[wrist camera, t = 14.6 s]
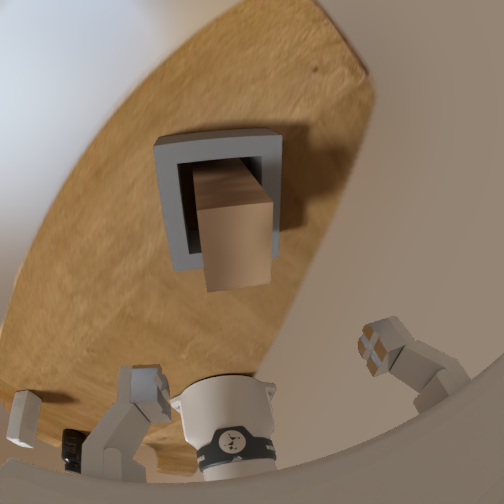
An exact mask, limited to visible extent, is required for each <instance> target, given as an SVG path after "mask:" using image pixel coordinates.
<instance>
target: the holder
mask: <svg viewBox="0 0 504 504" xmlns="http://www.w3.org/2000/svg"><path fill="white" fill-rule="evenodd" d="M153 149H154V157H155V165H156V172H157V180H158V186H159V193H160V199H161V206H162V211H163V217H164V223H165V228H166V234H167V239H168V244H169V249H170V254H171V259H172V264H173V268H174V272H175V271H183V270H190V269H198V268H204V265H203V258H202V250H201V242H200V234H199V230H191V231H188V228H187V220H186V213H185V205H184V197H183V189H182V181H181V171H180V163H187V162H195V161H204V160H214V159H225V158H237V157H250V173H251V174H252V175H253V176H254V178H255V179H256V180H257V182H258V183H259V184H260V185H261V187H262V188H263V189H264V191H265V192H266V193H267V195H268V196H269V197H270V199H271V200H272V201H273V228H272V257H271V258H277V257H278V249H279V227H280V202H281V172H282V135H281V134H279V133H277V132H275V131H273V130H270V129H268V128H250V129H231V130H217V131H206V132H196V133H187V134H179V135H171V136H164V137H159V138H158V139H157V141H156V143H155V144H154V146H153Z"/></svg>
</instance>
